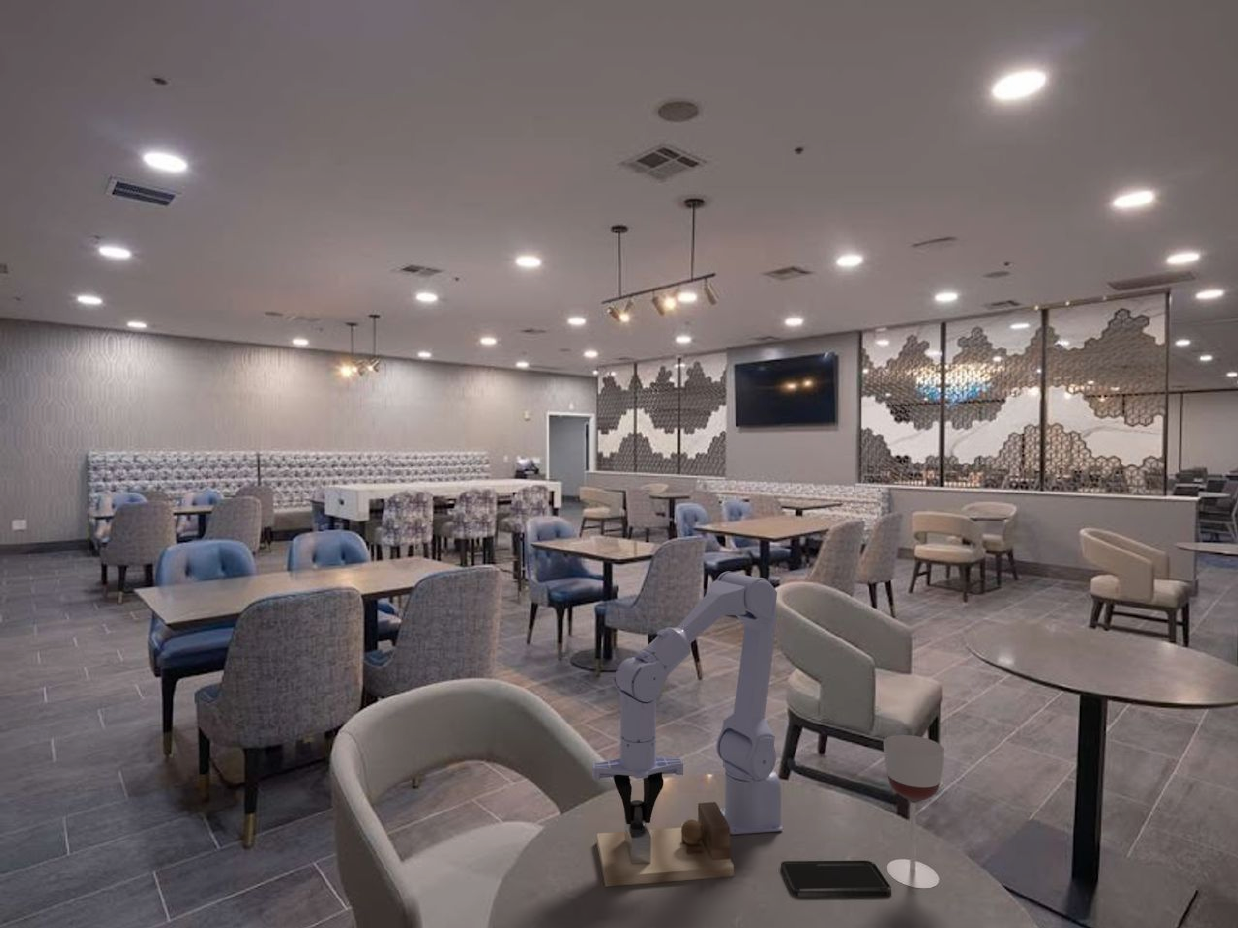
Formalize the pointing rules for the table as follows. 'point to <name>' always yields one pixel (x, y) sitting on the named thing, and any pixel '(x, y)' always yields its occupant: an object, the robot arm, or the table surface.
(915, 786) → the wineglass
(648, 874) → the base
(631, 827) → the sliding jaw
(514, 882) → the table surface
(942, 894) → the table surface
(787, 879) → the phone
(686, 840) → the walnut
